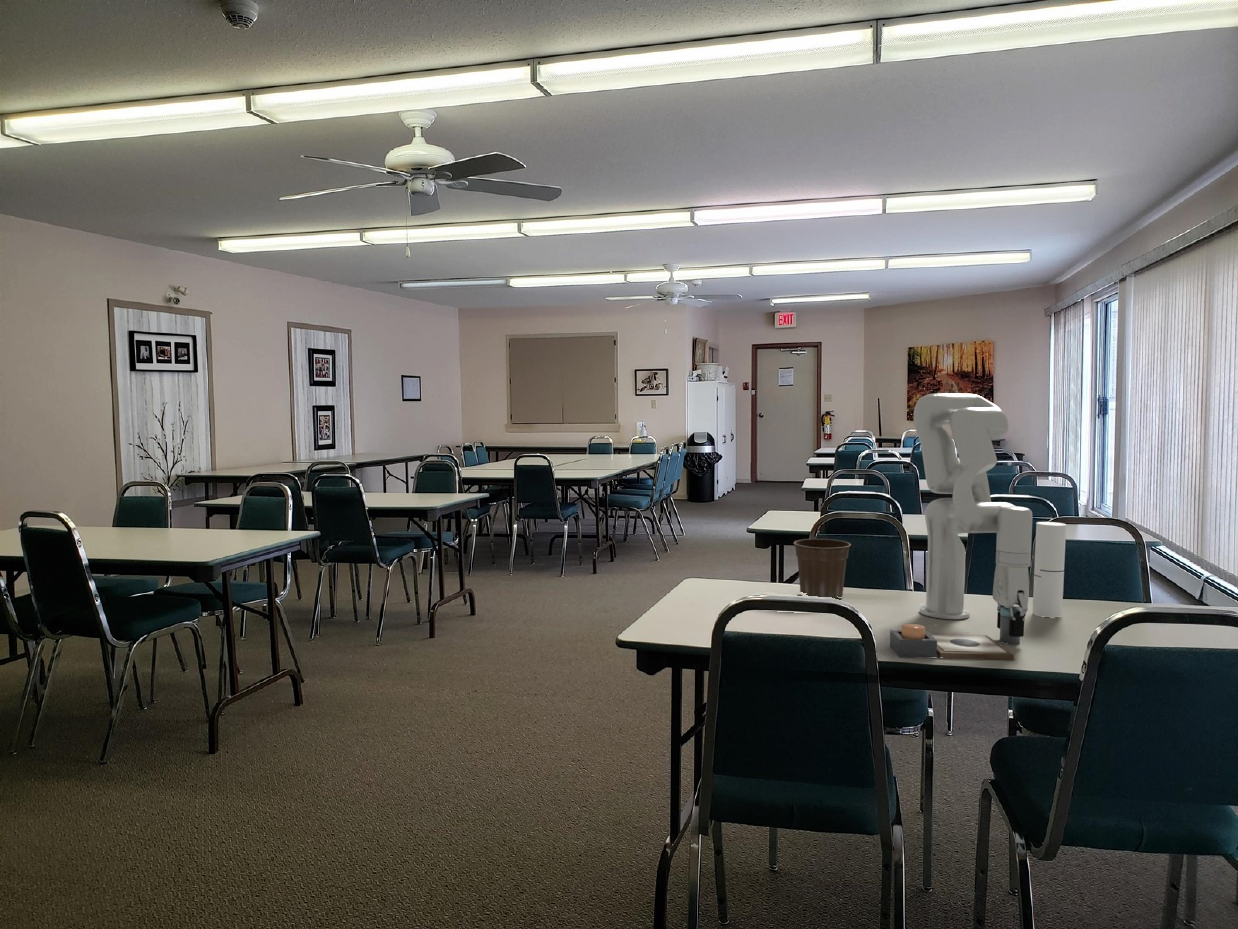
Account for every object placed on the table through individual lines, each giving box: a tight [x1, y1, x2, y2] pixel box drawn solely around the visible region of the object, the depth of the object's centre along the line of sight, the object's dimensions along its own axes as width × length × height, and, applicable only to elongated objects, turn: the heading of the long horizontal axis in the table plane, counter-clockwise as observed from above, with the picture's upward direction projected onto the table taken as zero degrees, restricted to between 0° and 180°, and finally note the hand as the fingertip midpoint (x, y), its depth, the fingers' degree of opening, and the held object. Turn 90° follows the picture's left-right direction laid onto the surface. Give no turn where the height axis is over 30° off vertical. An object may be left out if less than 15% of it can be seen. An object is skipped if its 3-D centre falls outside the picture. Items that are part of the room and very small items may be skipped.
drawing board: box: [929, 633, 1015, 661], centre depth 195 cm, size 16×16×2 cm
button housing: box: [889, 629, 938, 658], centre depth 191 cm, size 8×8×4 cm
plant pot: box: [793, 538, 852, 600], centre depth 246 cm, size 16×16×16 cm
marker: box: [999, 607, 1021, 645], centre depth 201 cm, size 5×5×8 cm
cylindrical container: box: [1032, 521, 1067, 617], centre depth 227 cm, size 7×7×25 cm
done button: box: [901, 623, 926, 639], centre depth 191 cm, size 5×5×4 cm
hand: (1010, 631), depth 201 cm, fingers open, 6 cm apart
